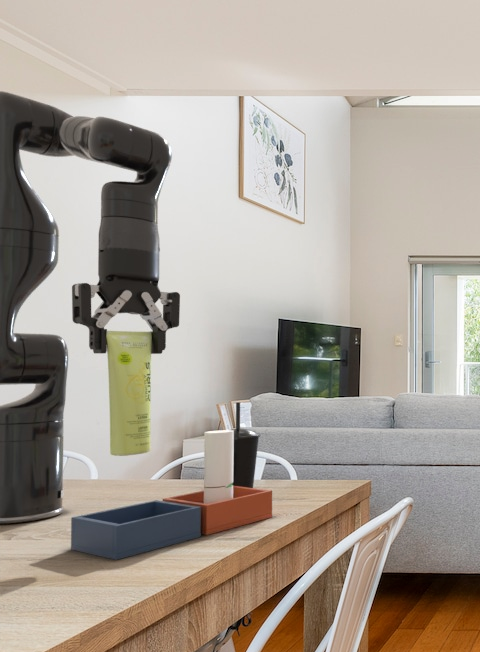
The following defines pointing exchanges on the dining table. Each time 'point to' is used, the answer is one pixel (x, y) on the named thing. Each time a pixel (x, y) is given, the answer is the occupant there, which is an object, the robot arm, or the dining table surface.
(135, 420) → the tube
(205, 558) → the dining table surface
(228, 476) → the tube
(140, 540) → the blue bin
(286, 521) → the dining table surface
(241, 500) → the terracotta bin
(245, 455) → the drinking cup
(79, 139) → the robot arm
